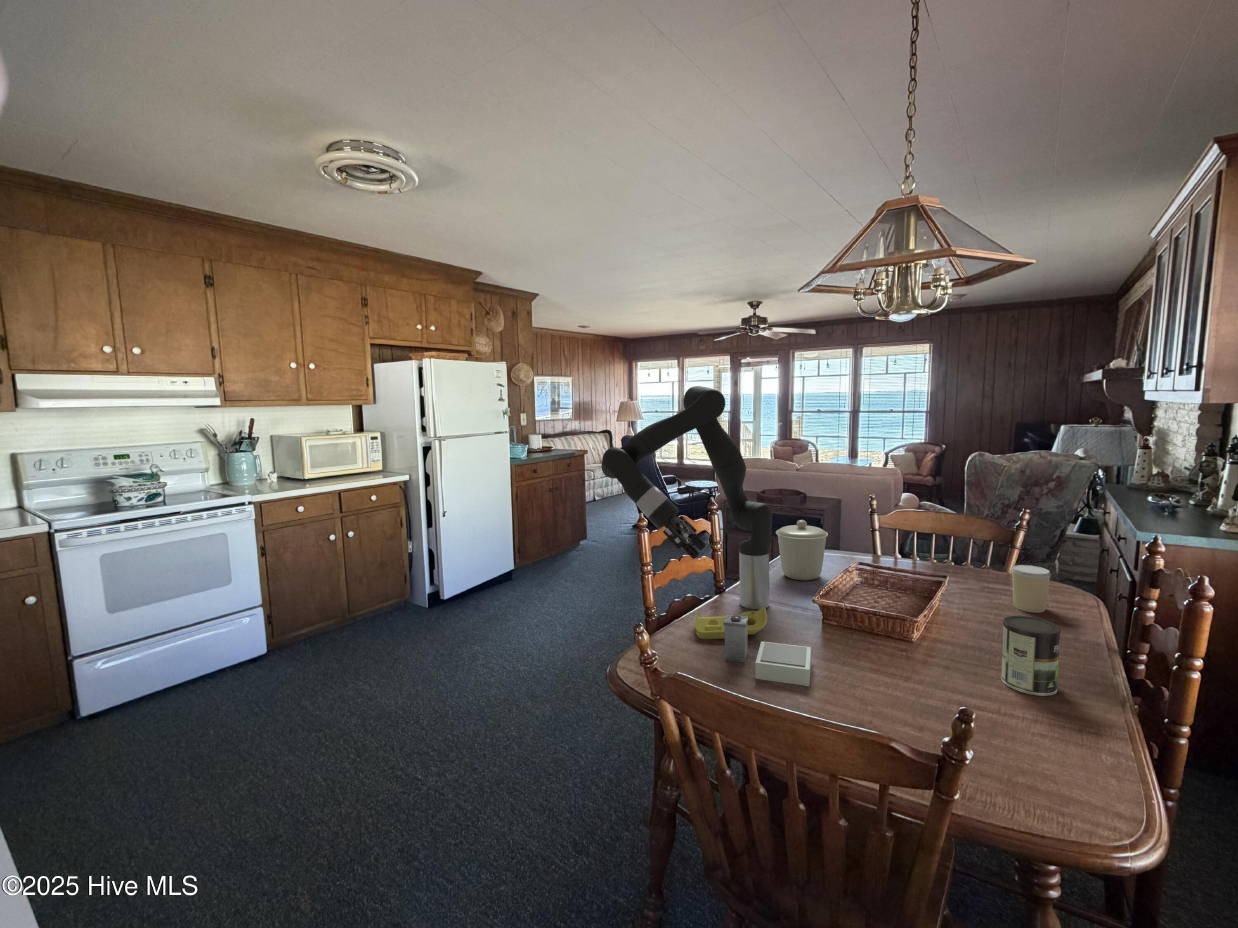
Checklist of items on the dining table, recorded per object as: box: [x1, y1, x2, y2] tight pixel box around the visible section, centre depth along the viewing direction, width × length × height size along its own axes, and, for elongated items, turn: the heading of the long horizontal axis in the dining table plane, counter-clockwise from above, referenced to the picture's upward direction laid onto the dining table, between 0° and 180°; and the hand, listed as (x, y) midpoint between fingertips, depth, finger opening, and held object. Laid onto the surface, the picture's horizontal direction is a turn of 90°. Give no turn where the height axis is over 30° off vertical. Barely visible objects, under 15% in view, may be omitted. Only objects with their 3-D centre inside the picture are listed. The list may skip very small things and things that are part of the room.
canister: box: [775, 519, 829, 581], centre depth 202 cm, size 18×18×21 cm
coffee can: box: [1000, 615, 1062, 697], centre depth 123 cm, size 10×10×14 cm
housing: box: [724, 613, 749, 663], centre depth 141 cm, size 5×5×11 cm
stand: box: [755, 640, 812, 687], centre depth 133 cm, size 12×12×4 cm
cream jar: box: [1011, 564, 1052, 613], centre depth 166 cm, size 9×9×12 cm
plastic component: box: [694, 607, 768, 640], centre depth 156 cm, size 20×7×10 cm
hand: (700, 552), depth 143 cm, fingers open, 8 cm apart
